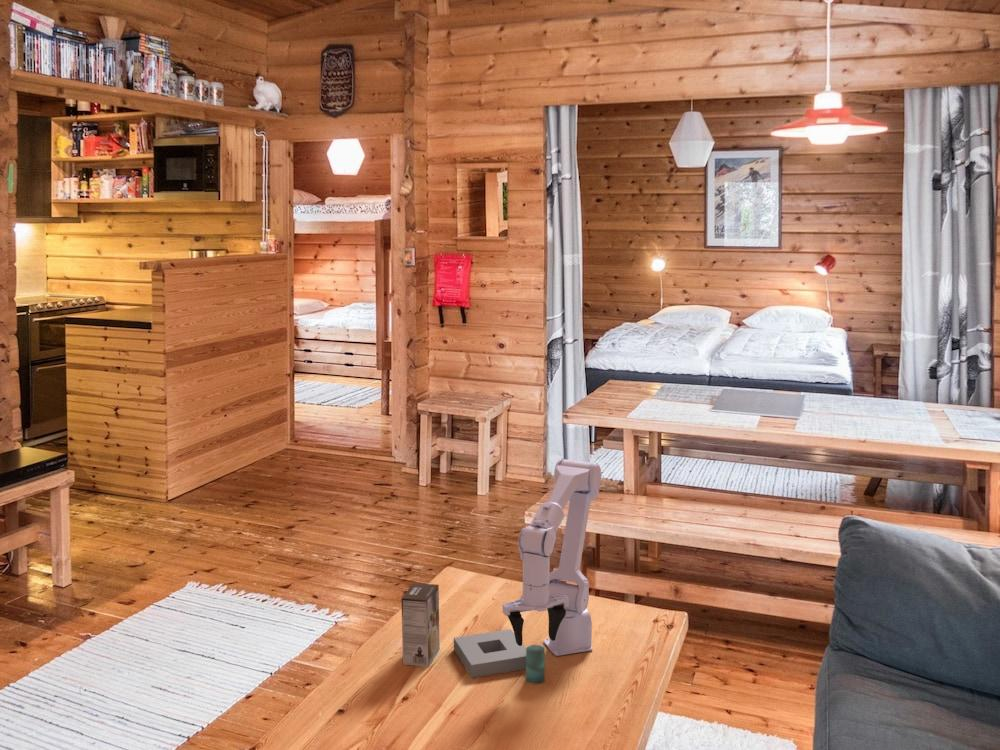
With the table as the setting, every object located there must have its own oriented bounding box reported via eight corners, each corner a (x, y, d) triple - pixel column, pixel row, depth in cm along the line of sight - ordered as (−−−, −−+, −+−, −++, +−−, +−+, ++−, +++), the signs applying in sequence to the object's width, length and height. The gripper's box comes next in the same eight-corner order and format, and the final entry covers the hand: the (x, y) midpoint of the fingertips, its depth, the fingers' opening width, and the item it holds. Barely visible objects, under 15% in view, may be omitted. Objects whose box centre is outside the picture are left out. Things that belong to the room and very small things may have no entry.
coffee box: (413, 646, 214) (412, 581, 211) (440, 649, 213) (439, 584, 210) (401, 665, 205) (400, 597, 203) (429, 667, 204) (428, 600, 201)
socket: (510, 641, 217) (510, 629, 217) (531, 667, 204) (531, 655, 203) (453, 649, 213) (453, 637, 212) (471, 677, 200) (471, 665, 199)
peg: (540, 673, 201) (540, 643, 200) (547, 682, 198) (547, 651, 197) (523, 676, 200) (523, 646, 199) (530, 685, 196) (530, 654, 195)
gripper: (510, 593, 189) (510, 654, 191) (574, 584, 194) (573, 644, 196) (499, 580, 196) (499, 640, 198) (561, 572, 200) (561, 630, 203)
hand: (535, 641), depth 197 cm, fingers open, 7 cm apart
